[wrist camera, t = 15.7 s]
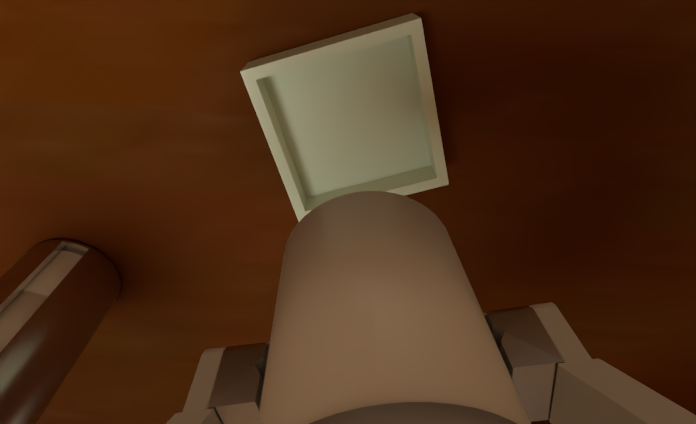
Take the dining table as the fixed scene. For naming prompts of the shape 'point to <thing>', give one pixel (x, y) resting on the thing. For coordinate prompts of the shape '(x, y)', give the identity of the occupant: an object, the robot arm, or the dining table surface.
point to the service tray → (351, 114)
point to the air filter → (49, 321)
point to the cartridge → (380, 324)
